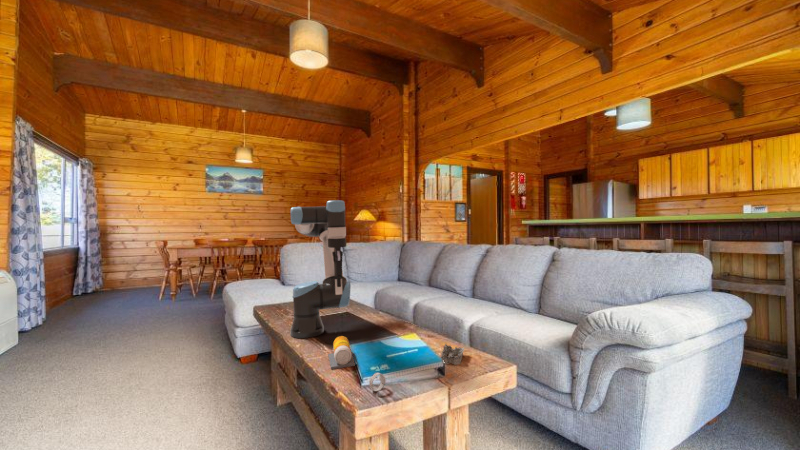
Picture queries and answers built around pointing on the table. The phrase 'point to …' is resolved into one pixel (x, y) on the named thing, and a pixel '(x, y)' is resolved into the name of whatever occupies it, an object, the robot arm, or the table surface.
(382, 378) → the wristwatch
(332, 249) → the robot arm
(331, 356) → the mat
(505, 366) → the table surface
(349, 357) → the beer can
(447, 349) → the egg carton
